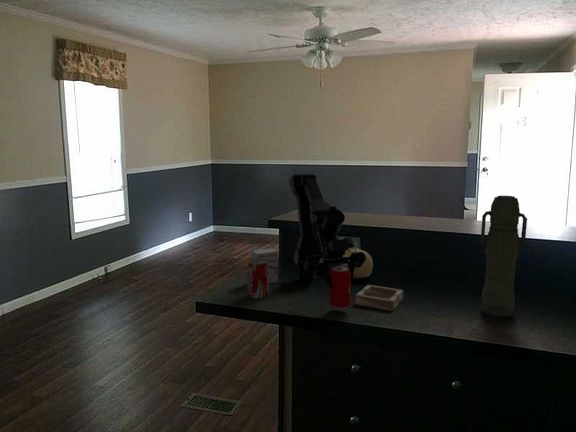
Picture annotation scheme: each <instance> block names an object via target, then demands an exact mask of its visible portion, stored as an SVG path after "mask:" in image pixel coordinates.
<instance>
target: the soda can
mask: <svg viewBox="0 0 576 432" xmlns="http://www.w3.org/2000/svg"><path fill="white" fill-rule="evenodd" d="M266 262H267V261H266V260H263V259H253V260H251V259H250V260H248V265H247V266H246V267H247V269H246V280H247V281H246V283H247V288H246V289H247V295H248V297H250V298H252V299H255V300H260V299H265V298H266V297H267V296H269V290H270V286H269V285H270V283H269V270H268V265H267V263H266Z"/></svg>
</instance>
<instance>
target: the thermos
mask: <svg viewBox="0 0 576 432" xmlns="http://www.w3.org/2000/svg"><path fill="white" fill-rule="evenodd" d="M520 211H521V209H520V203H519V199H518V198H517V197H515V196H513V195H497V196H494V198H493V200H492V202H491V206H490V210H489V211H485V212H484V213H483V215H482V218H481V231H480V246H481V247H484V248H485V251H484V252H485V255H486V263H485V264H486V265H485V275H484V276H485V278H484V286H483V288H482V292H481V304H482V305H481V312H482V313H484V314H485V315H488V316H491V317H495V318H510V317H512V316H513V315H514V307H515V302H516V295H515V290H514V287H515V276H516V266H517V264H516V263H517V259H518V257H519V251H520V250H523V249H524V248H525V246H526V235H527V224H528V217H527V216H525V213H522V212H520ZM487 216H490V218H489V225H490V226H489V230H488V233H487V235H486V238H485V234H486V220H487V219H486V218H487ZM520 217H521V218H522V226H521V235H520V236H519V228H518V226H519V220H520ZM485 239H486V240H485Z"/></svg>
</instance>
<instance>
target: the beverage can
mask: <svg viewBox="0 0 576 432" xmlns="http://www.w3.org/2000/svg"><path fill="white" fill-rule="evenodd" d="M329 276H330V279H331V282H332V288H330V287H329V299H328V300H329V301H328V302H329V303H328V304H329V306H330V307H332V308H333V309H336V310H345V309H347V308H348V307H350V306H351V287H352V286H351V273H350V270H349V268H348V267H346V266H341V265H334V266H332V267H331V269H330V271H329Z"/></svg>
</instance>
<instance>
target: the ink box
mask: <svg viewBox="0 0 576 432" xmlns="http://www.w3.org/2000/svg"><path fill="white" fill-rule="evenodd" d="M250 255H251V256H250V260H253V259H263V260H266V261H267V262H266V263H267V265H268V270H269V284H274V283H278V273H279V272H278V267H279V266H278V263H279V262H278V258H279V257H278V256H279V255H278V251H277V250H276V249H273V248H263V249H254V250H251V252H250Z"/></svg>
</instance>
